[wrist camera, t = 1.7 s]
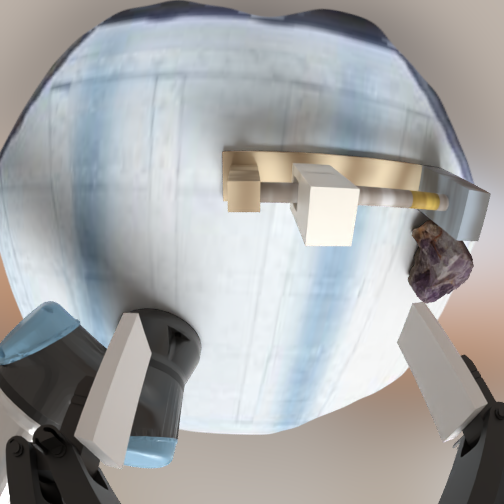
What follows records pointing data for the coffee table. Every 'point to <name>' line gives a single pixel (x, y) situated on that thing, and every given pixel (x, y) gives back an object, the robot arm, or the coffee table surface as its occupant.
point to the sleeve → (324, 205)
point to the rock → (438, 263)
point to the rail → (281, 171)
